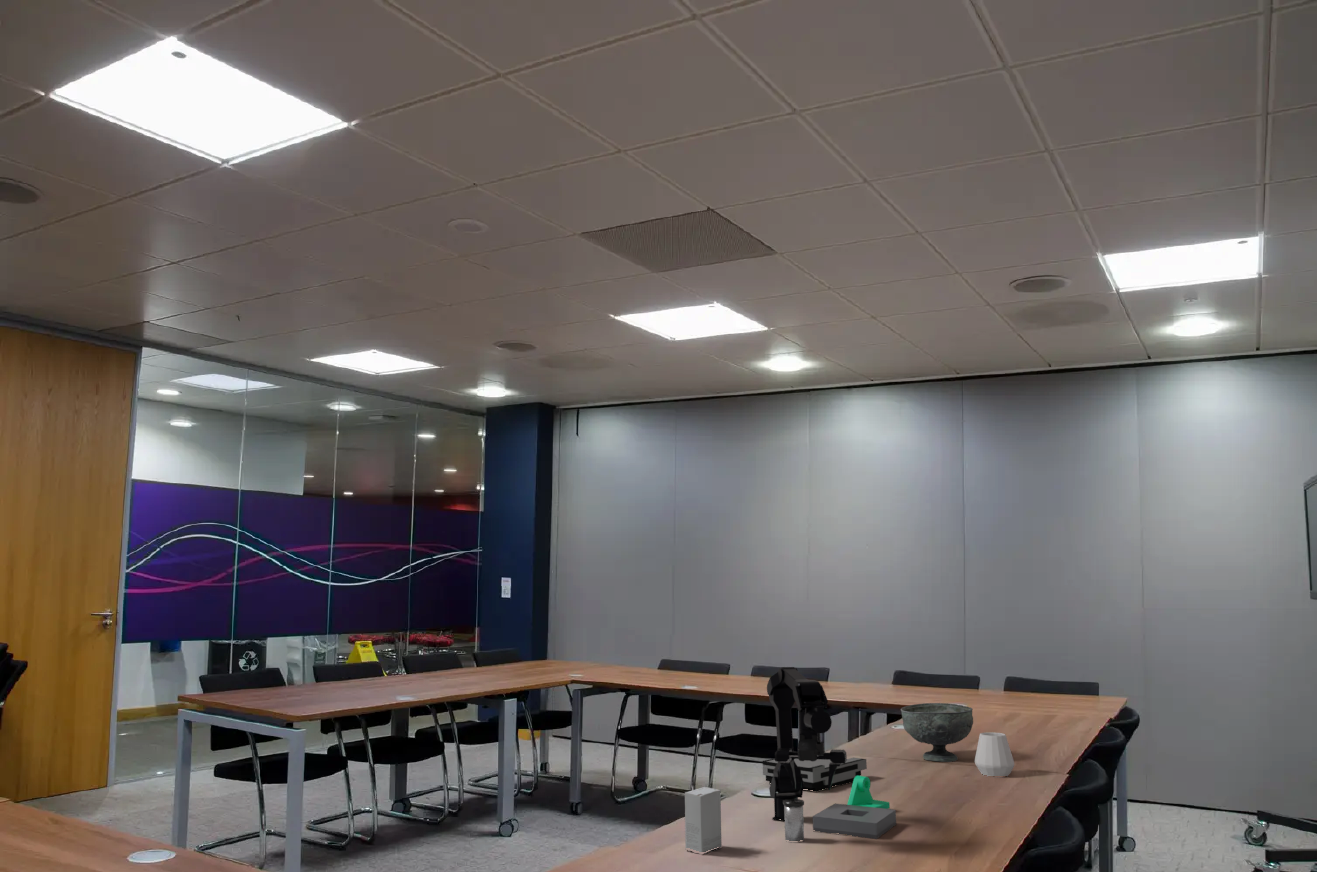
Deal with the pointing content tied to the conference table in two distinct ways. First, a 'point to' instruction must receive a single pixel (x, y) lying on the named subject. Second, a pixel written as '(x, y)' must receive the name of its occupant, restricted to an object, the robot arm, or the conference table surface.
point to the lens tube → (794, 819)
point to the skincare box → (703, 819)
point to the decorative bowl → (938, 726)
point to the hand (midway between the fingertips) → (812, 789)
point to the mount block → (855, 820)
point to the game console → (821, 772)
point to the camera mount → (864, 794)
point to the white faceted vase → (994, 755)
